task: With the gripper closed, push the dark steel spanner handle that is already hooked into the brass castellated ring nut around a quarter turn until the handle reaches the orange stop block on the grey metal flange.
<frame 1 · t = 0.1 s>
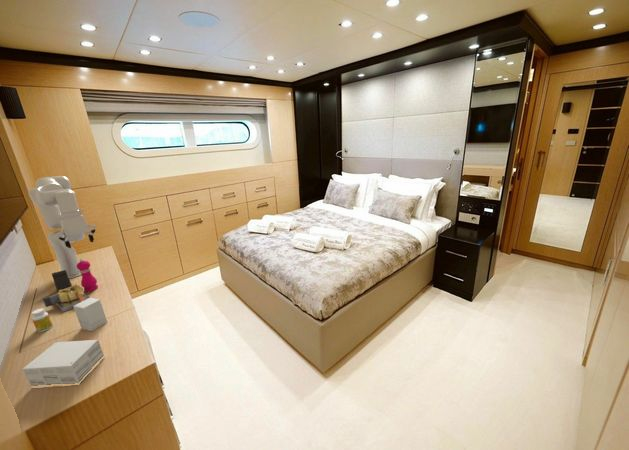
hand: (81, 244, 142), 31 cm above the dresser, fingers open, 9 cm apart
supplement bottle: (45, 328, 124), on the dresser
supplement box 2: (70, 373, 99), on the dresser
supplement box: (94, 325, 125), on the dresser
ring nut: (63, 295, 143), point 5 cm above the dresser, hinge at 0.0°
pepper mill: (91, 289, 158), on the dresser
flange base: (73, 300, 146), on the dresser
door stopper: (65, 289, 158), on the dresser
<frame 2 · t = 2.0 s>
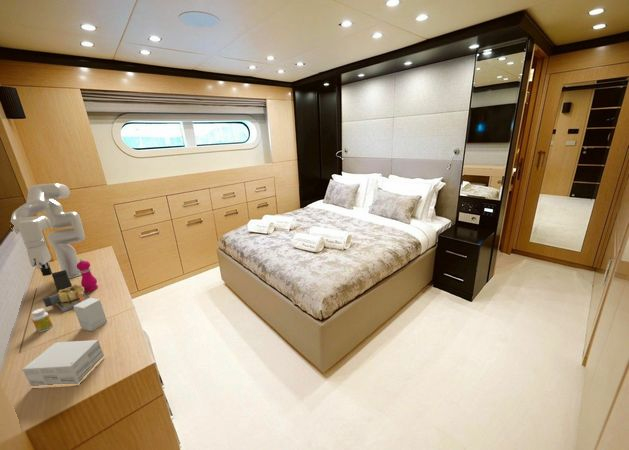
hand: (47, 274, 140), 17 cm above the dresser, fingers closed
nothing on the dresser moved.
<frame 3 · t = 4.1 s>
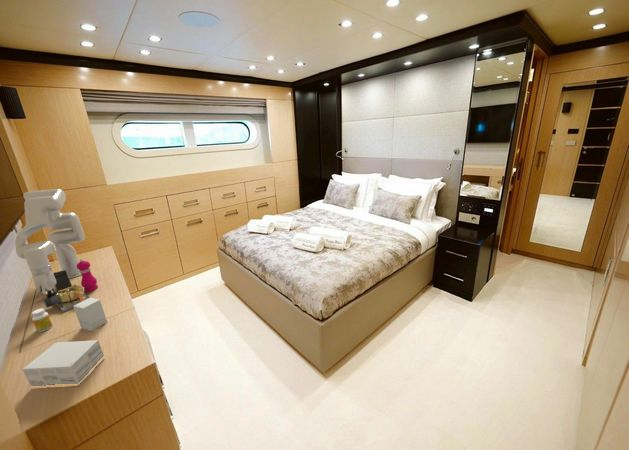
hand: (53, 299, 141), 3 cm above the dresser, fingers closed
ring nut: (64, 295, 143), point 5 cm above the dresser, hinge at 5.3°, touching gripper
everything else where it was.
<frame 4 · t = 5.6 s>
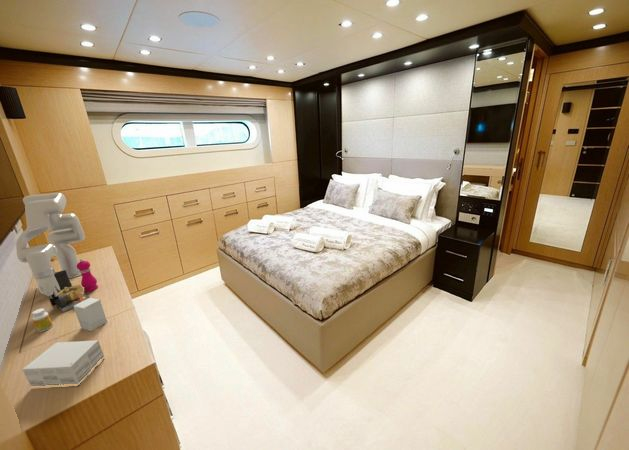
hand: (56, 303, 138), 3 cm above the dresser, fingers closed
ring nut: (67, 295, 142), point 5 cm above the dresser, hinge at 51.0°, touching gripper
everything else where it was.
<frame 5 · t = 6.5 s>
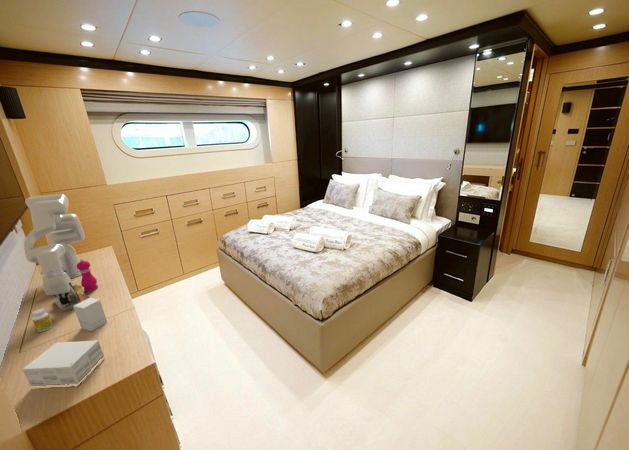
hand: (65, 303, 139), 3 cm above the dresser, fingers closed
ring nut: (71, 294, 143), point 5 cm above the dresser, hinge at 84.5°, touching gripper
everything else where it was.
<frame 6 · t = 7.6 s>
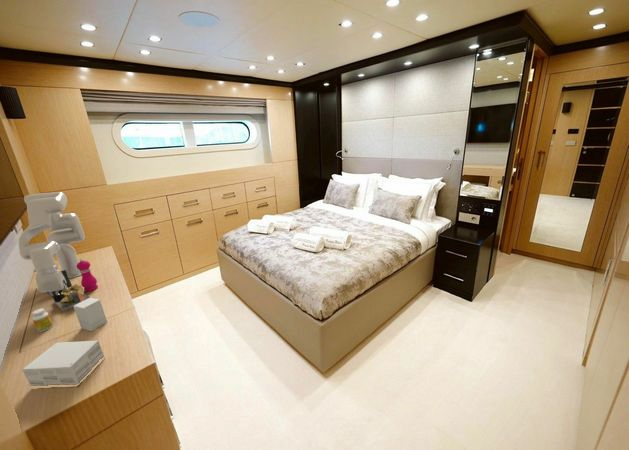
hand: (59, 300, 139), 4 cm above the dresser, fingers closed
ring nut: (72, 294, 143), point 5 cm above the dresser, hinge at 89.4°, touching gripper
everything else where it was.
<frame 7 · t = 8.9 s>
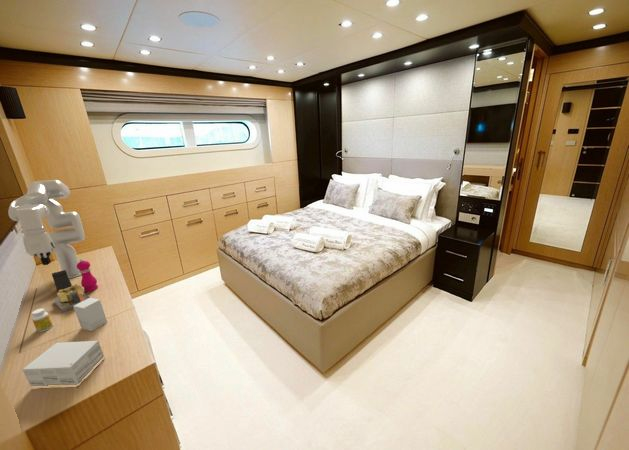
hand: (47, 263, 139), 23 cm above the dresser, fingers closed
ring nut: (72, 294, 143), point 5 cm above the dresser, hinge at 88.3°
everything else where it was.
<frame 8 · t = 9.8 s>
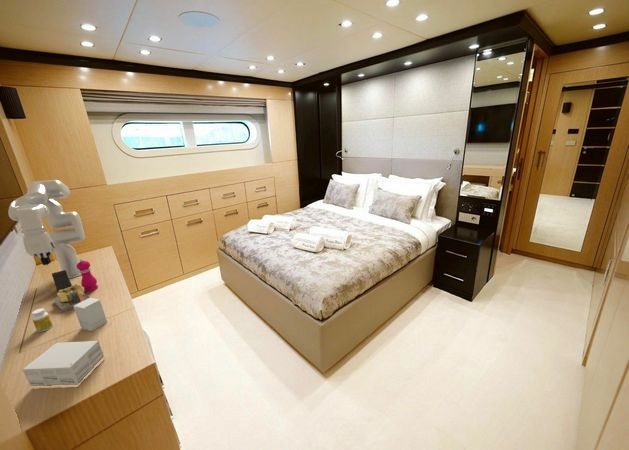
hand: (47, 263, 139), 23 cm above the dresser, fingers closed
nothing on the dresser moved.
at the end: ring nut at +88° (first picture: +0°) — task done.
